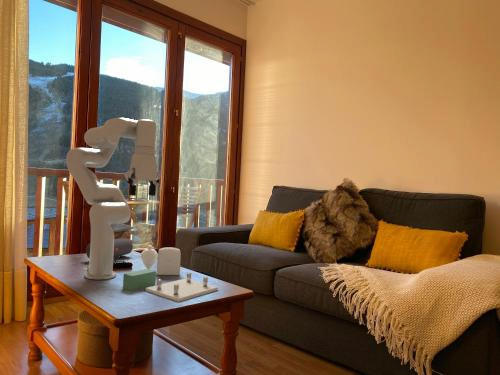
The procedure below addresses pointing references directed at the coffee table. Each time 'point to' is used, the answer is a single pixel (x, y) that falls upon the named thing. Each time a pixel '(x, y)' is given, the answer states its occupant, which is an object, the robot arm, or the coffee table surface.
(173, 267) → the photo printer
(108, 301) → the coffee table surface
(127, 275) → the board block
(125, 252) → the bluetooth speaker
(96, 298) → the coffee table surface
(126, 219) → the robot arm
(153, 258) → the spinning top
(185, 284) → the standoff plate
